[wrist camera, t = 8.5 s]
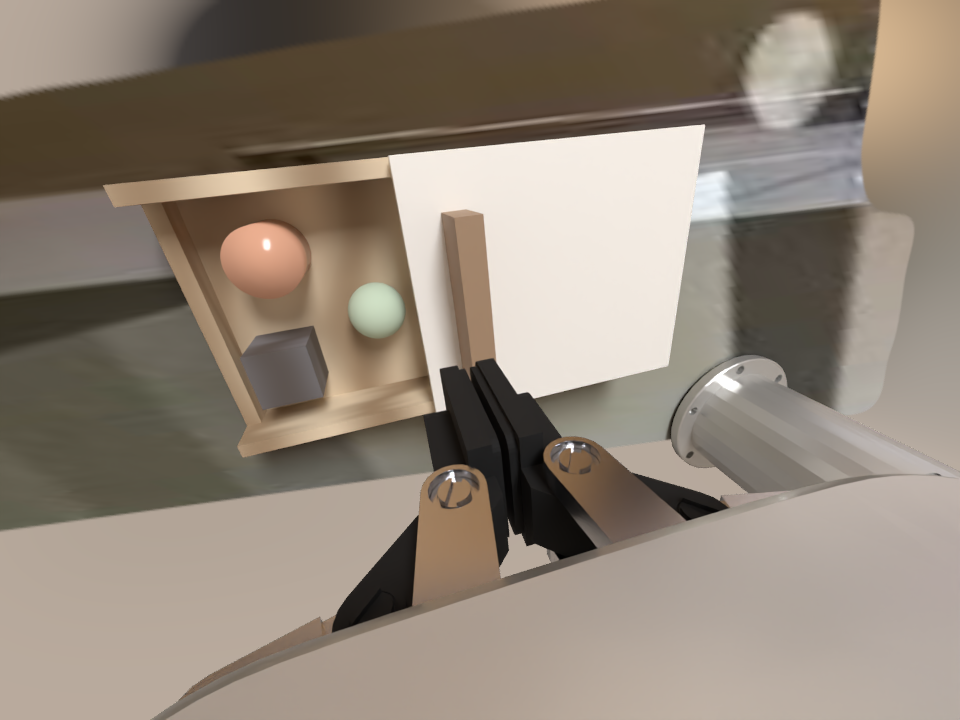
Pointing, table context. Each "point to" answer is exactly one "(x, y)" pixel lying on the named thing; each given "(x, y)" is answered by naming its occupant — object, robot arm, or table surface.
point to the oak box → (297, 288)
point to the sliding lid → (549, 254)
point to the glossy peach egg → (266, 258)
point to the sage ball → (376, 310)
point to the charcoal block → (286, 367)
